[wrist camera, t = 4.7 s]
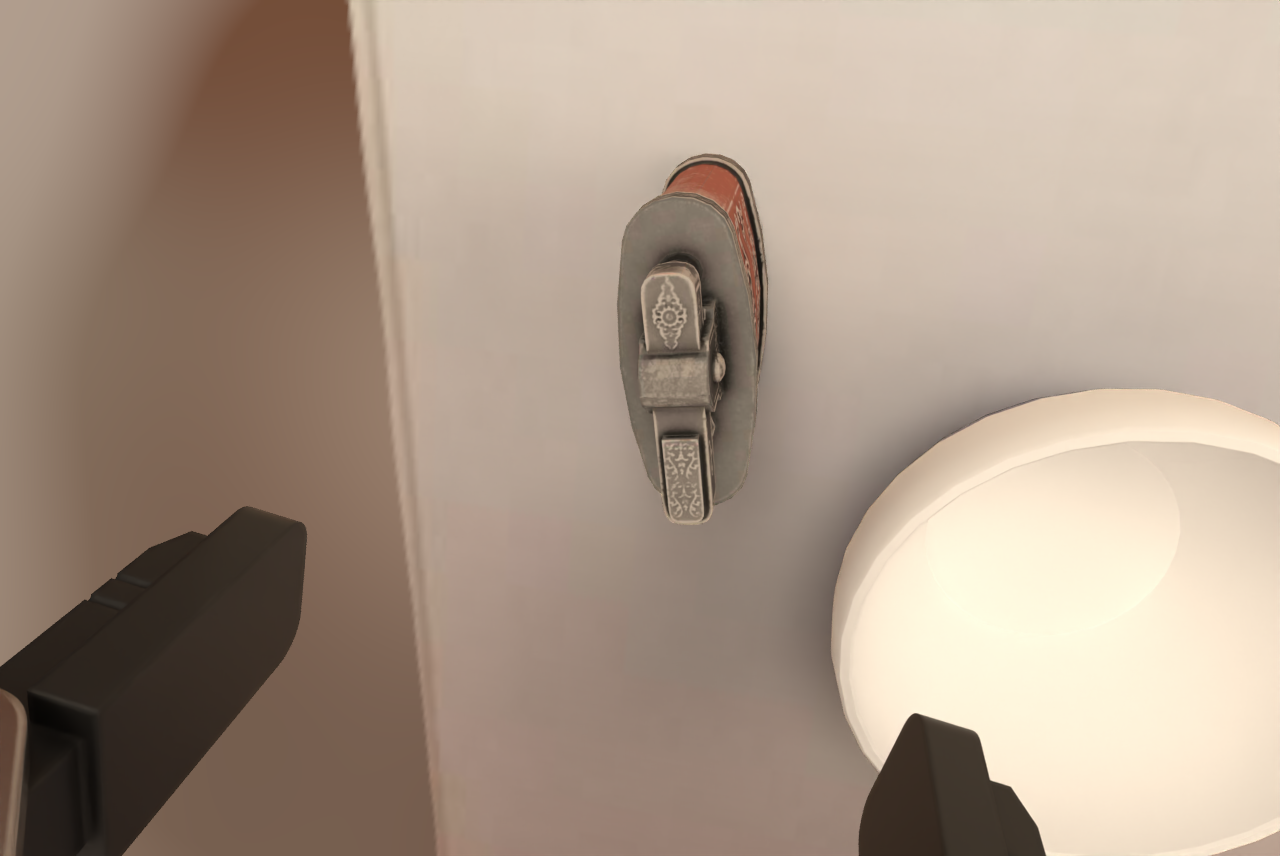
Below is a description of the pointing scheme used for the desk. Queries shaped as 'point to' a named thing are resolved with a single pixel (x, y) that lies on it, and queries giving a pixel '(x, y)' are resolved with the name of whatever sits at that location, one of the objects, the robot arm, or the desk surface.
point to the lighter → (694, 333)
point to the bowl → (1084, 616)
